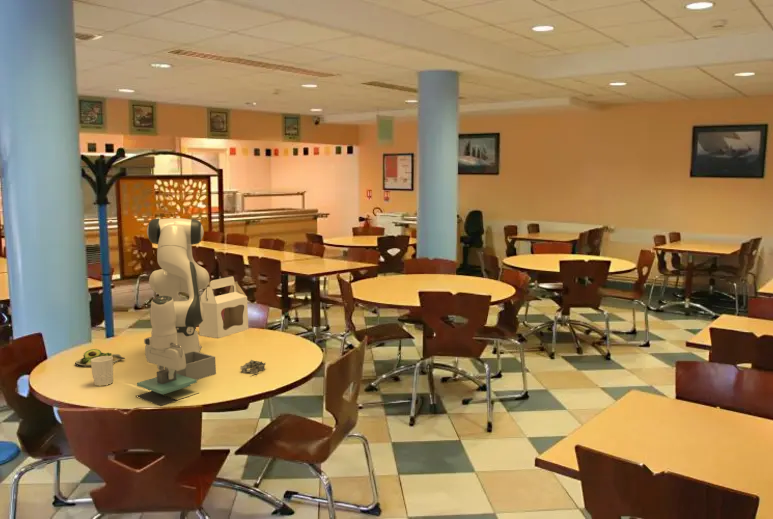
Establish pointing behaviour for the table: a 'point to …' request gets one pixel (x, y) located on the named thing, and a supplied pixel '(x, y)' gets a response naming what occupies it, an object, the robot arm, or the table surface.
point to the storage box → (198, 365)
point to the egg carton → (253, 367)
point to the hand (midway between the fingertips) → (166, 377)
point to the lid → (166, 382)
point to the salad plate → (93, 354)
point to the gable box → (214, 305)
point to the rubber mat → (159, 398)
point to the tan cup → (102, 370)
